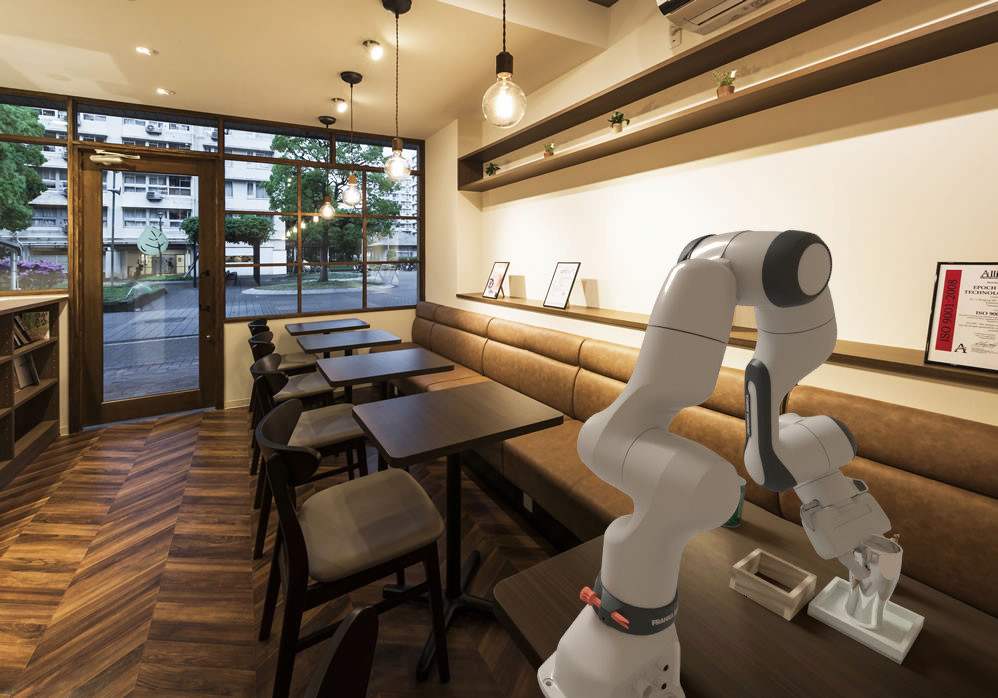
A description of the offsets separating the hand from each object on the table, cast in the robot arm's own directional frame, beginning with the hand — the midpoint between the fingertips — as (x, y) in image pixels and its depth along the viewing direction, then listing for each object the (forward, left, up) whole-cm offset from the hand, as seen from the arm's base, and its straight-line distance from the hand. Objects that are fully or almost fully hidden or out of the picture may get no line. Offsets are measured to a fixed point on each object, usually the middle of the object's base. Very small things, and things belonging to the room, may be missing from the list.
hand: (877, 570), depth 84 cm
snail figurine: (+16, +4, -11) cm, 20 cm away
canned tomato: (+13, +34, -11) cm, 38 cm away
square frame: (-6, +14, -10) cm, 18 cm away
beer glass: (0, +1, -10) cm, 10 cm away
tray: (0, +1, -10) cm, 11 cm away
